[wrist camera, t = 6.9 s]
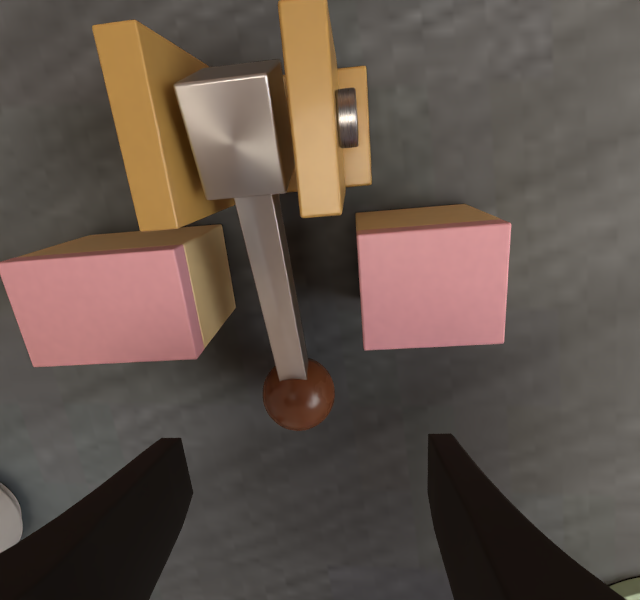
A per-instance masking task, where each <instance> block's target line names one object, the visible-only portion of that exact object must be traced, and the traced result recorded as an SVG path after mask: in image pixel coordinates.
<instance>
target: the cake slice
mask: <svg viewBox="0 0 640 600" xmlns="http://www.w3.org/2000/svg"><path fill="white" fill-rule="evenodd" d="M355 220H356V236H357V252H358V268H359V284H360V300H361V316H362V331H363V347H364V350H384V349H404V348H424V347H444V346H464V345H484V344H502V343H504V334H505V318H506V301H507V285H508V269H509V252H510V236H511V223H509V222H507V221H504V220H502V219H500V218H497V217H495V216H492V215H490V214H488V213H485V212H483V211H481V210H478V209H476V208H473V207H471V206H469V205H466V204H457V205H445V206H433V207H421V208H409V209H397V210H385V211H373V212H361V213H356V214H355Z"/></svg>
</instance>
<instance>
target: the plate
mask: <svg viewBox="0 0 640 600" xmlns="http://www.w3.org/2000/svg"><path fill="white" fill-rule="evenodd" d="M609 587H610V588H611V589H613V590H614V591H615V592H617V593H618V594H620V595H621V596H622V597H624V598H625V599H627V600H640V577H638V578H634V579H629V580H626V581H622V582H619V583H616V584H614V585H611V586H609Z"/></svg>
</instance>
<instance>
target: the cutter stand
mask: <svg viewBox="0 0 640 600" xmlns="http://www.w3.org/2000/svg"><path fill="white" fill-rule="evenodd" d="M278 11H279V21H280V30H281V40H282V49H283V58H284V68H285V75H283V81H284V88H285V95H286V102H287V109H288V115H289V122H290V129H291V136H292V143H293V153H294V162H295V164H294V168H293V172H292V175H291V179H290V183H289V186H288V190H287V192H298V200H299V209H300V216H301V217H302V218H312V217H325V216H337V215H341V214H342V210H343V204H344V198H345V192H346V189H345V187H354V186H365V185H371V183H372V175H371V155H370V134H369V113H368V92H367V72H366V66H356V67H348V68H339V69H337V61H336V55H335V48H334V42H333V36H332V29H331V23H330V16H329V10H328V4H327V0H280V1H279V2H278ZM92 30H93V34H94V38H95V42H96V46H97V51H98V55H99V59H100V63H101V68H102V72H103V76H104V80H105V85H106V89H107V93H108V97H109V102H110V106H111V110H112V114H113V119H114V123H115V127H116V131H117V136H118V140H119V144H120V148H121V152H122V157H123V161H124V165H125V169H126V174H127V178H128V182H129V186H130V191H131V195H132V199H133V203H134V208H135V212H136V216H137V220H138V225H139V229H140V231H141V232H146V231H158V230H170V229H178V228H181V227H183V226H185V225H188V224H190V223H193V222H195V221H197V220H200V219H202V218H205V217H207V216H209V215H212V214H214V213H217V212H219V211H222V210H224V209H226V208H229V207H231V206H234V205H236V204H235V200H234V198H229V199H218V200H207V199H206V197H205V194H204V191H203V187H202V184H201V180H200V177H199V174H198V170H197V167H196V163H195V160H194V156H193V153H192V150H191V146H190V143H189V139H188V136H187V132H186V129H185V126H184V122H183V119H182V115H181V112H180V108H179V105H178V102H177V98H176V95H175V91H174V88H173V86H174V84H175V83H176V82H178V81H180V80H182V79H184V78H185V77H187V76H189V75H191V74H193V73H195V72H197V71H198V70H200V69H202V68H208V67H209V66H208V65H206V64H204V63H203V62H201V61H200V60H198V59H197V58H195V57H193V56H192V55H190V54H189V53H187V52H186V51H184V50H182V49H181V48H179V47H178V46H176V45H174V44H173V43H171V42H170V41H168V40H167V39H165V38H163V37H162V36H160V35H159V34H157V33H155V32H154V31H152V30H151V29H149V28H148V27H146V26H144V25H143V24H141V23H140V22H138V21H137V20H127V21H120V22H113V23H105V24H98V25H93V26H92Z"/></svg>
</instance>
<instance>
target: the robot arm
mask: <svg viewBox="0 0 640 600" xmlns="http://www.w3.org/2000/svg"><path fill="white" fill-rule="evenodd" d="M192 495H193V489H192V485H191V481H190V476H189V472H188V467H187V463H186V458H185V454H184V449H183V445H182V440H181V438H161V439H160V440H158V441H157V442H155V443H154V444H153V445H151V446H150V447H149V448H147V449H146V450H145V451H144V452H142V453H141V454H140V455H139V456H137V457H136V458H135V459H134V460H132V461H131V462H130V463H128V464H127V465H126V466H125V467H123V468H122V469H121V470H120V471H118V472H117V473H116V474H115V475H113V476H112V477H111V478H109V479H108V480H107V481H106V482H104V483H103V484H102V485H101V486H99V487H98V488H97V489H95V490H94V491H93V492H91V493H90V494H88V495H87V496H86V497H84V498H83V499H82V500H80V501H79V502H78V503H76V504H75V505H73V506H72V507H71V508H69V509H68V510H67V511H65V512H64V513H62V514H61V515H60V516H58V517H57V518H55V519H54V520H52V521H51V522H49V523H48V524H46V525H45V526H43V527H42V528H40V529H39V530H37V531H36V532H34V533H32V534H31V535H29V536H28V537H26V538H25V539H23V540H21V541H20V542H18V543H16V544H15V545H13V546H12V547H10V548H8V549H6V550H5V551H3V552H1V553H0V600H149V598H150V596H151V594H152V592H153V590H154V587H155V585H156V583H157V581H158V579H159V577H160V574H161V572H162V570H163V568H164V566H165V564H166V562H167V559H168V557H169V555H170V553H171V551H172V549H173V546H174V544H175V542H176V540H177V538H178V535H179V533H180V531H181V529H182V526H183V523H184V520H185V517H186V514H187V511H188V508H189V505H190V501H191V498H192ZM428 497H429V503H430V509H431V515H432V520H433V526H434V530H435V534H436V538H437V541H438V545H439V548H440V552H441V555H442V559H443V562H444V566H445V569H446V573H447V576H448V580H449V583H450V586H451V590H452V593H453V597H454V600H627V599H625V598H624V597H622V596H621V595H620V594H618V593H617V592H615V591H614V590H613V589H611V588H610V587H609V586H607V585H606V584H605V583H603V582H602V581H601V580H599V579H598V578H597V577H595V576H594V575H593V574H591V573H590V572H589V571H587V570H586V569H585V568H583V567H582V566H581V565H580V564H578V563H577V562H576V561H574V560H573V559H572V558H571V557H570V556H568V555H567V554H566V553H565V552H563V551H562V550H561V549H560V548H559V547H558V546H556V545H555V544H554V543H553V542H552V541H551V540H550V539H548V538H547V537H546V536H545V535H544V534H543V533H542V532H541V531H540V530H538V529H537V528H536V527H535V526H534V525H533V524H532V523H531V522H530V521H529V520H528V519H527V518H526V517H525V516H524V515H523V514H522V513H521V512H520V511H519V510H518V509H517V508H516V507H515V506H514V505H513V504H512V503H511V502H510V501H509V500H508V499H507V498H506V497H505V496H504V495H503V494H502V493H501V492H500V491H499V489H498V488H497V487H496V486H495V485H494V484H493V483H492V482H491V481H490V480H489V478H488V477H487V476H486V475H485V474H484V473H483V472H482V471H481V469H480V468H479V467H478V466H477V465H476V463H475V462H474V461H473V460H472V459H471V457H470V456H469V455H468V454H467V452H466V451H465V450H464V449H463V447H462V446H461V445H460V444H459V442H458V441H457V440H456V438H455V437H454V436H453V435H452V434H428Z"/></svg>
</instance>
